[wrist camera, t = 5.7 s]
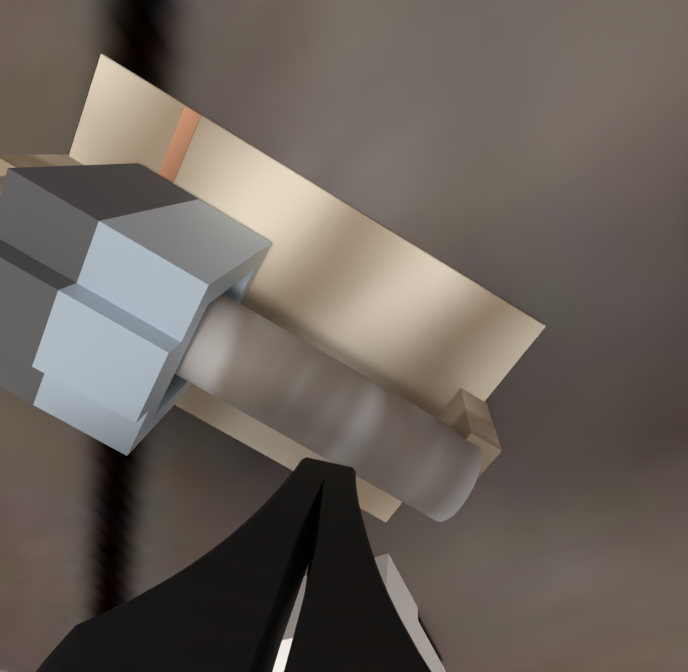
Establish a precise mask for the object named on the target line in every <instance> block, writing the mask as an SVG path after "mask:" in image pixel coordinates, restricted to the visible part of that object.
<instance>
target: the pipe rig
mask: <svg viewBox="0 0 688 672" xmlns="http://www.w3.org/2000/svg"><path fill="white" fill-rule="evenodd" d="M129 163H139V164H141V165H142V166H144V167H146V168H147V169H149V170H151V171H153V172H154V173H156V174H158V175H159V176H161V177H163V178H164V179H166V180H168V181H169V182H171V183H173V184H174V185H176V186H178V187H179V188H181V189H183V190H184V191H186V192H188V193H189V194H191V195H193V196H194V197H196V198H198V199H199V200H201V201H203V202H204V203H206V204H208V205H209V206H211V207H213V208H214V209H216V210H218V211H219V212H221V213H223V214H225V215H226V216H228V217H230V218H231V219H233V220H235V221H236V222H238V223H240V224H241V225H243V226H245V227H246V228H248V229H250V230H251V231H253V232H255V233H256V234H258V235H260V236H261V237H263V238H265V239H266V240H268V241H270V242H271V243H272V244H271V246H270V248H269V250H268V252H267V254H266V256H265V258H264V260H263V262H262V264H261V266H260V268H259V270H258V271H257V273H256V275H255V277H254V279H253V281H252V283H251V285H250V287H249V289H248V291H247V293H246V295H245V297H244V299H243V301H242V302H241V304H240V303H238V302H237V301H235V300H233V299H231V298H230V297H228V296H226V295H225V294H223V293H222V294H221V295H220V296H218V297H217V298H216V299H214V300H213V301H212V302H210V303H209V304H208V306H207V308H206V310H205V312H204V314H203V316H202V318H201V320H200V322H199V324H198V326H197V328H196V330H195V332H194V335H193V337H192V339H191V341H190V343H189V345H188V347H187V349H186V351H185V353H184V355H183V357H182V359H181V361H180V363H179V365H178V367H177V370H176V372H175V374H176V375H178V376H179V377H181V378H183V379H185V380H187V381H188V382H190V383H192V384H193V385H192V386H191V387H190V389H189V390H188V391H187V392H186V393H185V394H184V395H183V396H182V397H181V398H180V399H179V400H178V401H177V403H176V404H175V405H176V406H178V407H179V408H181V409H183V410H185V411H187V412H188V413H190V414H192V415H194V416H196V417H197V418H199V419H201V420H203V421H205V422H206V423H208V424H210V425H212V426H214V427H215V428H217V429H219V430H221V431H222V432H224V433H226V434H228V435H230V436H231V437H233V438H235V439H237V440H239V441H240V442H242V443H244V444H246V445H248V446H249V447H251V448H253V449H255V450H257V451H258V452H260V453H262V454H264V455H266V456H267V457H269V458H271V459H273V460H275V461H276V462H278V463H280V464H282V465H283V466H285V467H287V468H289V469H291V470H292V471H294V470H295V468H296V467H297V465H298V464H299V462H300V461H301V460H302V459H304V458H305V457H308V458H312V459H317V460H321V461H326V462H331V463H335V464H340V465H344V466H349V467H353V468H354V470H355V471H356V487H357V495H358V500H359V506H360V508H361V509H362V510H364V511H366V512H368V513H370V514H371V515H373V516H375V517H377V518H379V519H380V520H382V521H384V522H387V521H388V520H389V518H390V517H391V516H392V515H393V513H394V512H395V511H396V510H397V508H398V507H399V506H400V505H401V504H402V502H403V503H405V504H407V505H409V506H410V507H412V508H414V509H416V510H418V511H419V512H421V513H423V514H425V515H426V516H428V517H430V518H432V519H433V520H435V521H438V522H442V521H445V520H447V519H449V518H450V517H452V516H453V515H454V514H455V513H456V512H457V511H458V510H459V509H460V508H461V507H462V505H463V504H464V503H465V501H466V500H467V498H468V496H469V495H470V493H471V491H472V489H473V487H474V485H475V482H476V480H477V479H478V478H479V476H480V475H481V474H482V473H483V472H484V471H485V470H486V468H487V467H488V466H489V465H490V464H491V463H492V462H493V460H494V459H495V458H496V457H497V456H498V455H499V454H500V452H501V451H502V450H501V447H500V444H499V441H498V437H497V434H496V431H495V428H494V425H493V422H492V418H491V415H490V412H489V409H488V406H487V403H486V399H487V398H488V397H489V395H490V394H491V393H492V392H493V390H494V389H495V388H496V387H497V386H498V384H499V383H500V382H501V381H502V379H503V378H504V377H505V376H506V375H507V373H508V372H509V371H510V370H511V368H512V367H513V366H514V365H515V363H516V362H517V361H518V360H519V359H520V357H521V356H522V355H523V354H524V352H525V351H526V350H527V349H528V347H529V346H530V345H531V344H532V343H533V341H534V340H535V339H536V338H537V336H538V335H539V334H540V333H541V331H542V330H543V329H544V328H545V327H546V326H545V325H544V324H542V323H541V322H539V321H537V320H536V319H534V318H533V317H531V316H529V315H528V314H526V313H524V312H523V311H521V310H520V309H518V308H516V307H515V306H513V305H511V304H510V303H508V302H506V301H505V300H503V299H502V298H500V297H498V296H497V295H495V294H493V293H492V292H490V291H489V290H487V289H485V288H484V287H482V286H480V285H479V284H477V283H475V282H474V281H472V280H471V279H469V278H467V277H466V276H464V275H462V274H461V273H459V272H458V271H456V270H454V269H453V268H451V267H449V266H448V265H446V264H444V263H443V262H441V261H440V260H438V259H436V258H435V257H433V256H431V255H430V254H428V253H427V252H425V251H423V250H422V249H420V248H418V247H417V246H415V245H413V244H412V243H410V242H409V241H407V240H405V239H404V238H402V237H400V236H399V235H397V234H396V233H394V232H392V231H391V230H389V229H387V228H386V227H384V226H382V225H381V224H379V223H378V222H376V221H374V220H373V219H371V218H369V217H368V216H366V215H365V214H363V213H361V212H360V211H358V210H356V209H355V208H353V207H351V206H350V205H348V204H347V203H345V202H343V201H342V200H340V199H338V198H337V197H335V196H334V195H332V194H330V193H329V192H327V191H325V190H324V189H322V188H320V187H319V186H317V185H316V184H314V183H312V182H311V181H309V180H307V179H306V178H304V177H303V176H301V175H299V174H298V173H296V172H294V171H293V170H291V169H289V168H288V167H286V166H285V165H283V164H281V163H280V162H278V161H276V160H275V159H273V158H272V157H270V156H268V155H267V154H265V153H263V152H262V151H260V150H258V149H257V148H255V147H254V146H252V145H250V144H249V143H247V142H245V141H244V140H242V139H241V138H239V137H237V136H236V135H234V134H232V133H231V132H229V131H227V130H226V129H224V128H223V127H221V126H219V125H218V124H216V123H214V122H213V121H211V120H210V119H208V118H206V117H205V116H203V115H201V114H200V113H198V112H196V111H195V110H193V109H192V108H190V107H188V106H187V105H185V104H183V103H182V102H180V101H179V100H177V99H175V98H174V97H172V96H170V95H169V94H167V93H165V92H164V91H162V90H161V89H159V88H157V87H156V86H154V85H152V84H151V83H149V82H148V81H146V80H144V79H143V78H141V77H139V76H138V75H136V74H134V73H133V72H131V71H130V70H128V69H126V68H125V67H123V66H121V65H120V64H118V63H117V62H115V61H113V60H112V59H110V58H108V57H107V56H105V55H103V54H101V56H100V59H99V62H98V65H97V68H96V72H95V75H94V78H93V81H92V84H91V87H90V91H89V94H88V97H87V100H86V103H85V107H84V110H83V113H82V116H81V119H80V122H79V126H78V129H77V132H76V135H75V138H74V142H73V145H72V148H71V151H70V154H69V155H0V195H1V192H2V188H3V184H4V180H5V177H6V173H7V169H8V168H19V167H47V166H74V165H102V164H129Z"/></svg>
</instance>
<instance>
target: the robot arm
mask: <svg viewBox="0 0 688 672" xmlns="http://www.w3.org/2000/svg"><path fill="white" fill-rule="evenodd" d="M308 563H309V565H308ZM307 566H308V572H307V579H306V586H305V593H304V598H303V602H302V605H301V609H300V613H299V617H298V621H297V624H296V628H295V632H294V636H293V640H292V643H291V647H290V651H289V654H288V658H287V662H286V665H285V669H284V672H431V670H430V668H429V667H428V665H427V664H426V662H425V661H424V659H423V657H422V656H421V654H420V653H419V651H418V649H417V647H416V645H415V644H414V642H413V640H412V638H411V636H410V635H409V633H408V631H407V629H406V627H405V626H404V624H403V622H402V620H401V618H400V616H399V614H398V612H397V610H396V608H395V606H394V604H393V602H392V600H391V598H390V596H389V593H388V591H387V589H386V587H385V584H384V582H383V580H382V577H381V575H380V572H379V570H378V567H377V564H376V562H375V559H374V556H373V553H372V550H371V547H370V544H369V541H368V537H367V534H366V530H365V526H364V523H363V519H362V515H361V511H360V506H359V500H358V495H357V487H356V471H355V470H354V468H353V467H349V466H344V465H340V464H335V463H331V462H326V461H321V460H317V459H312V458H308V457H305V458H304V459H302V460H301V461H300V462H299V464H298V465H297V467H296V468H295V470H294V471H293V472H292V473H291V475H290V476H289V477H288V478H287V480H286V481H285V482H284V483H283V484H282V486H281V487H280V488H279V489H278V490H277V491H276V492H275V493H274V494H273V495H272V496H271V497H270V499H269V500H268V501H267V502H266V503H265V504H264V505H263V506H262V507H261V508H260V509H259V510H258V511H257V512H256V513H254V514H253V515H252V516H251V517H250V518H249V519H248V520H247V521H246V522H245V523H244V524H243V525H242V526H240V527H239V528H238V529H237V530H236V531H235V532H233V533H232V534H231V535H230V536H229V537H227V538H226V539H225V540H224V541H222V542H221V543H220V544H219V545H217V546H216V547H215V548H213V549H212V550H211V551H209V552H208V553H207V554H205V555H204V556H202V557H201V558H199V559H198V560H196V561H195V562H194V563H192V564H191V565H189V566H188V567H186V568H185V569H183V570H182V571H180V572H179V573H177V574H175V575H174V576H172V577H171V578H169V579H167V580H165V581H164V582H162V583H160V584H158V585H157V586H155V587H153V588H151V589H149V590H148V591H146V592H144V593H142V594H141V595H139V596H137V597H135V598H133V599H132V600H130V601H128V602H126V603H124V604H122V605H119V606H117V607H115V608H113V609H111V610H109V611H107V612H105V613H102V614H100V615H98V616H96V617H94V618H92V619H90V620H87V621H85V622H83V623H80V624H78V625H76V626H75V627H74V628H73V629H72V630H71V631H70V632H69V633H68V635H67V636H66V637H65V638H64V639H63V640H62V641H61V642H60V643H59V645H58V646H57V647H56V648H55V649H54V650H53V651H52V653H51V654H50V655H49V656H48V657H47V658H46V659H45V661H44V662H43V663H42V664H41V666H40V667H39V668H38V670H37V671H36V672H273V668H274V665H275V661H276V658H277V655H278V651H279V648H280V645H281V642H282V639H283V636H284V633H285V630H286V628H287V625H288V622H289V619H290V616H291V613H292V610H293V607H294V604H295V601H296V599H297V596H298V593H299V590H300V587H301V584H302V581H303V578H304V575H305V572H306V569H307Z"/></svg>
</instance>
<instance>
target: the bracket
mask: <svg viewBox="0 0 688 672" xmlns="http://www.w3.org/2000/svg"><path fill="white" fill-rule="evenodd" d="M374 559H375V562H376V564H377V567H378V570H379V572H380V575H381V577H382V580H383V582H384V584H385V587H386V589H387V591H388V593H389V596H390V598H391V600H392V602H393V604H394V606H395V608H396V610H397V612H398V614H399V616H400V618H401V620H402V622H403V624H404V626H405V627H406V629H407V631H408V633H409V635H410V636H411V638H412V640H413V642H414V644H415V645H416V647H417V649H418V651H419V653H420V654H421V656H422V657H423V659H424V661H425V662H426V664H427V665H428V667H429V668H430V670H431V672H446V671H445V669H444V667H443V665H442V663H441V662H440V660H439V658H438V656H437V654H436V652H435V651H434V649H433V647H432V645H431V643H430V642H429V640H428V638H427V636H426V634H425V632H424V631H423V629H422V627H421V625H420V623H419V621H418V607H417V606H416V604H415V602H414V600H413V598H412V596H411V594H410V593H409V591H408V589H407V587H406V585H405V583H404V582H403V580H402V578H401V576H400V574H399V572H398V570H397V569H396V567H395V565H394V563H393V561H392V559H391V557H390V556H389V554H384V555H381V556H377V557H374ZM306 579H307V576H304V578H303V581H302V584H301V587H300V590H299V593H298V596H297V599H296V601H295V604H294V607H293V610H292V613H291V616H290V619H289V622H288V625H287V628H286V630H285V633H284V636H283V639H282V642H281V645H280V648H279V651H278V655H277V658H276V661H275V665H274V668H273V672H284V669H285V665H286V662H287V658H288V654H289V651H290V647H291V643H292V640H293V636H294V632H295V628H296V624H297V621H298V617H299V613H300V609H301V605H302V602H303V598H304V593H305V586H306Z"/></svg>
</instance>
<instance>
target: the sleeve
mask: <svg viewBox="0 0 688 672" xmlns="http://www.w3.org/2000/svg"><path fill="white" fill-rule="evenodd" d="M271 244H272V243H271V242H270V241H268V240H266V239H265V238H263V237H261V236H260V235H258V234H256V233H255V232H253V231H251V230H250V229H248V228H246V227H245V226H243V225H241V224H240V223H238V222H236V221H235V220H233V219H231V218H230V217H228V216H226V215H225V214H223V213H221V212H219V211H218V210H216V209H214V208H213V207H211V206H209V205H208V204H206V203H204V202H203V201H201V200H199V199H197V200H193V201H188V202H183V203H179V204H174V205H170V206H165V207H161V208H156V209H151V210H147V211H142V212H138V213H133V214H129V215H124V216H119V217H115V218H110V219H106V220H101V221H99V222H98V225H97V228H96V230H95V233H94V236H93V239H92V242H91V244H90V247H89V250H88V253H87V256H86V258H85V261H84V264H83V267H82V270H81V272H80V275H79V278H78V281H77V283H75V284H73V285H70V286H68V287H65V288H63V289H60V290H58V292H57V295H56V298H55V301H54V304H53V307H52V310H51V313H50V316H49V319H48V322H47V325H46V328H45V330H44V333H43V336H42V339H41V342H40V345H39V348H38V351H37V354H36V357H35V360H34V363H33V365H32V367H34V368H36V369H37V370H39V371H41V372H43V373H44V376H43V379H42V382H41V384H40V387H39V390H38V393H37V396H36V398H35V401H34V404H33V405H35V406H36V407H38V408H40V409H42V410H44V411H46V412H47V413H49V414H51V415H53V416H55V417H57V418H58V419H60V420H62V421H64V422H66V423H68V424H69V425H71V426H73V427H75V428H77V429H79V430H81V431H82V432H84V433H86V434H88V435H90V436H92V437H93V438H95V439H97V440H99V441H101V442H103V443H104V444H106V445H108V446H110V447H112V448H114V449H115V450H117V451H119V452H121V453H123V454H125V455H128V454H129V453H130V452H131V451H132V450H133V449H134V448H135V447H136V446H137V445H138V444H139V442H140V441H141V440H142V439H143V438H144V437H145V436H146V435H147V434H148V433H149V432H150V431H151V429H152V428H153V427H154V426H155V425H156V424H157V423H158V422H159V421H160V420H161V419H162V418H163V417H164V415H165V414H166V413H167V412H168V411H169V410H170V409H171V408H172V407H173V406H174V405H175V404H176V403H177V401H178V400H179V399H180V398H181V397H182V396H183V395H184V394H185V393H186V392H187V391H188V390H189V389H190V387H191V386H192V385H193V384H192V383H190V382H188V381H187V380H185V379H183V378H181V377H179V376H178V375H176V374H175V372H176V370H177V367H178V365H179V363H180V361H181V359H182V357H183V355H184V353H185V351H186V349H187V347H188V345H189V343H190V341H191V339H192V337H193V335H194V332H195V330H196V328H197V326H198V324H199V322H200V320H201V318H202V316H203V314H204V312H205V310H206V308H207V306H208V304H209V303H210V302H212V301H213V300H214V299H216V298H217V297H218V296H220V295H221V294H222V293H223V294H225V295H226V296H228V297H230V298H231V299H233V300H235V301H237V302H238V303H240V304H241V302H242V301H243V299H244V297H245V295H246V293H247V291H248V289H249V287H250V285H251V283H252V281H253V279H254V277H255V275H256V273H257V271H258V270H259V268H260V266H261V264H262V262H263V260H264V258H265V256H266V254H267V252H268V250H269V248H270V246H271Z"/></svg>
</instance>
